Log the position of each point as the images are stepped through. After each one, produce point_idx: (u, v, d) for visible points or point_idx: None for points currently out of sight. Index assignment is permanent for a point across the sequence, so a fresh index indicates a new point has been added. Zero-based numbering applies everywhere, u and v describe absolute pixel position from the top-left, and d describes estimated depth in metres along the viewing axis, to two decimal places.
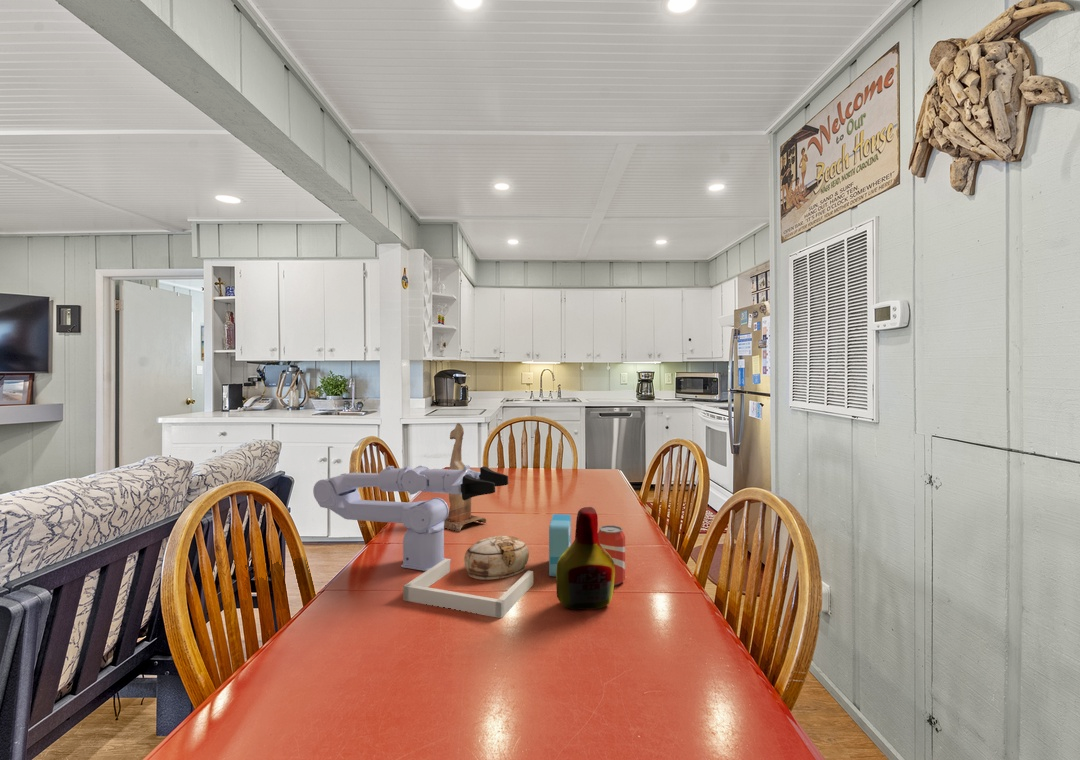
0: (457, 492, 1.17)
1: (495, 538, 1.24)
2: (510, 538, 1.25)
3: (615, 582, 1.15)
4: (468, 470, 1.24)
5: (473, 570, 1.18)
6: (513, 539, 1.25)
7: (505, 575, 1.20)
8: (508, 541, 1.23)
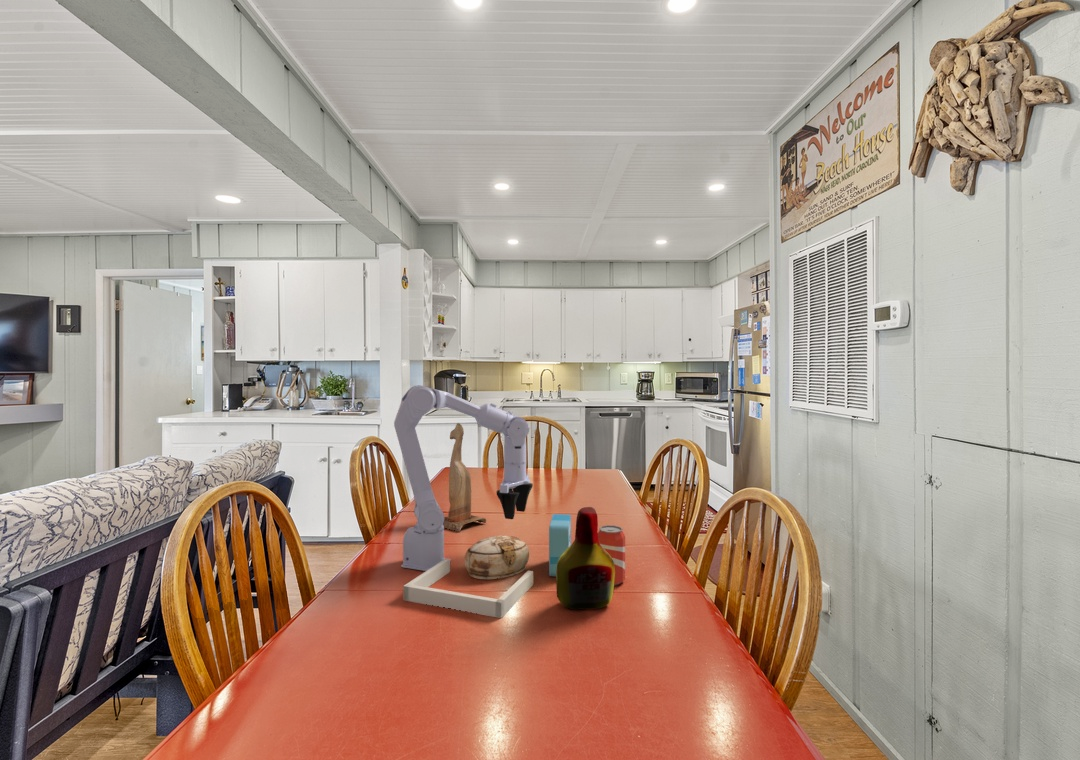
0: (501, 491, 1.28)
1: (495, 538, 1.24)
2: (510, 538, 1.25)
3: (615, 582, 1.15)
4: None
5: (474, 570, 1.19)
6: (514, 539, 1.25)
7: (505, 575, 1.20)
8: (508, 541, 1.23)
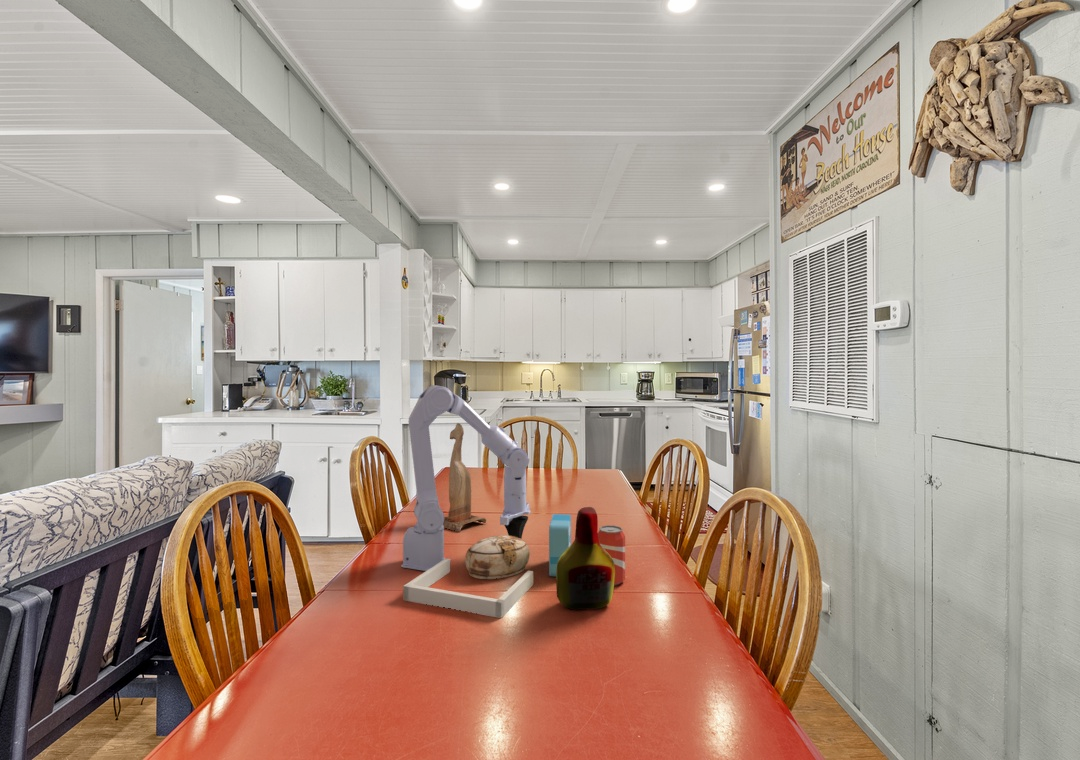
0: (501, 523, 1.28)
1: (496, 538, 1.24)
2: (511, 538, 1.25)
3: (615, 582, 1.15)
4: None
5: (474, 569, 1.19)
6: (514, 539, 1.25)
7: (506, 574, 1.20)
8: (509, 541, 1.23)
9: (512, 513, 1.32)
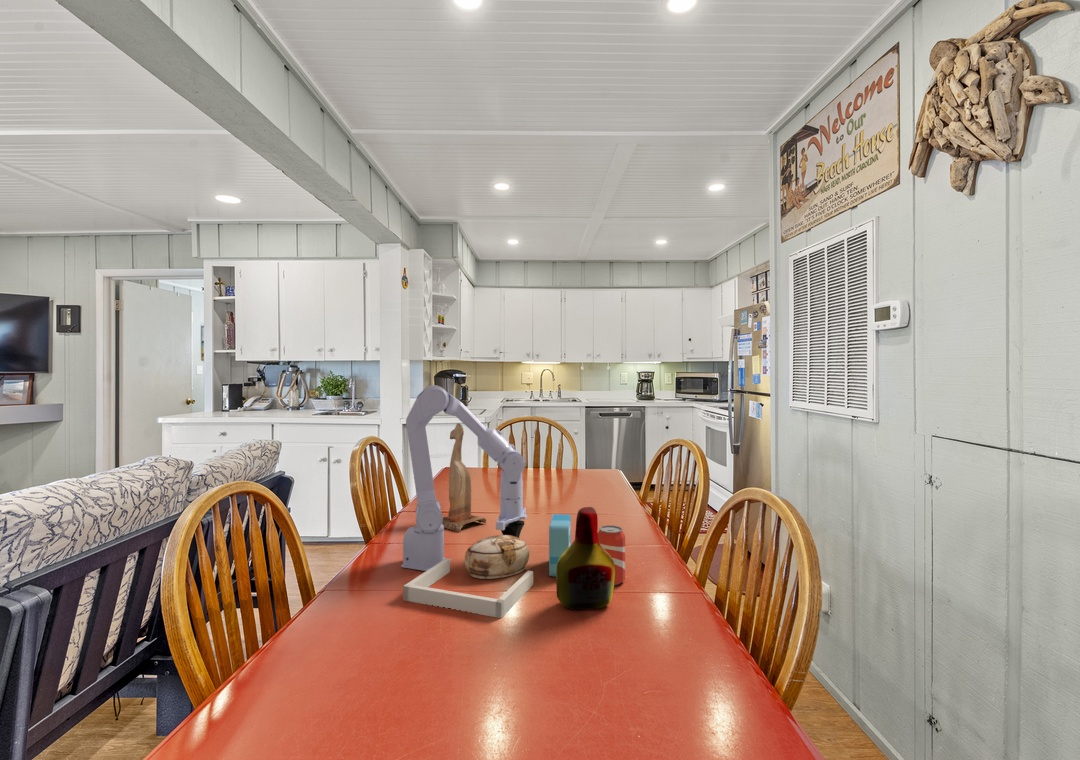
0: (497, 528, 1.26)
1: (496, 537, 1.24)
2: (511, 537, 1.25)
3: (615, 582, 1.15)
4: None
5: (474, 569, 1.19)
6: (514, 539, 1.25)
7: (505, 574, 1.20)
8: (509, 540, 1.23)
9: (508, 518, 1.29)
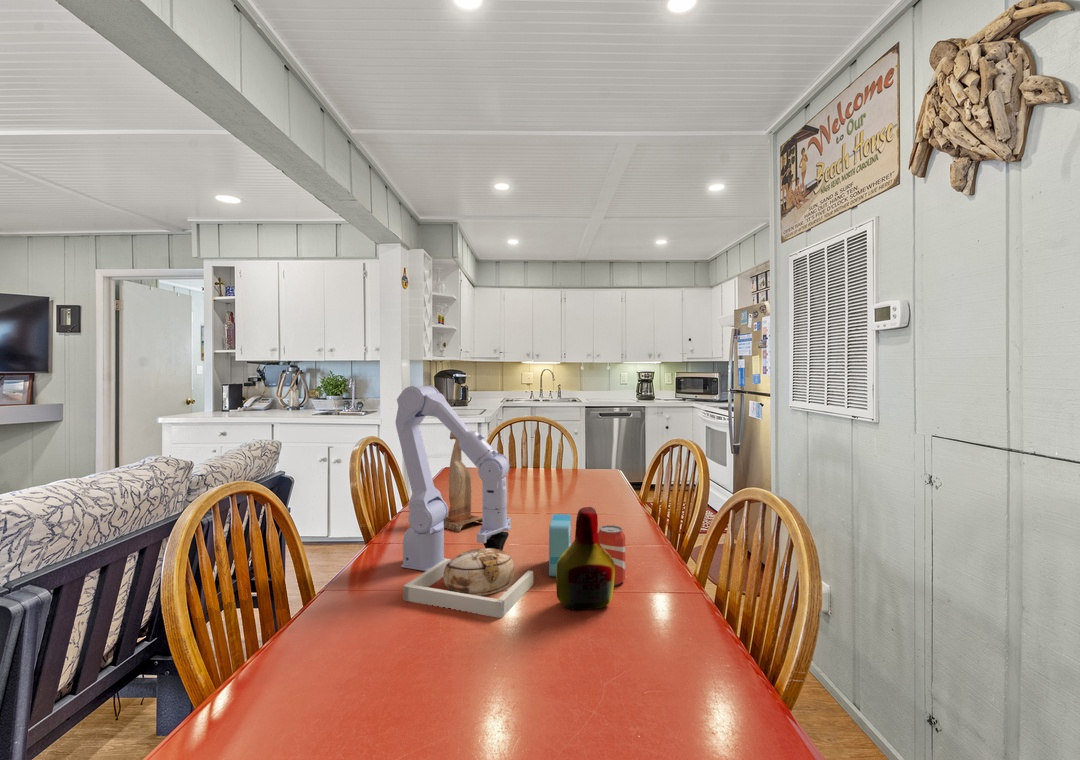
0: (478, 541, 1.16)
1: (477, 551, 1.15)
2: (494, 551, 1.16)
3: (615, 582, 1.15)
4: None
5: (453, 586, 1.09)
6: (497, 552, 1.16)
7: (487, 592, 1.11)
8: (491, 555, 1.14)
9: (491, 529, 1.20)
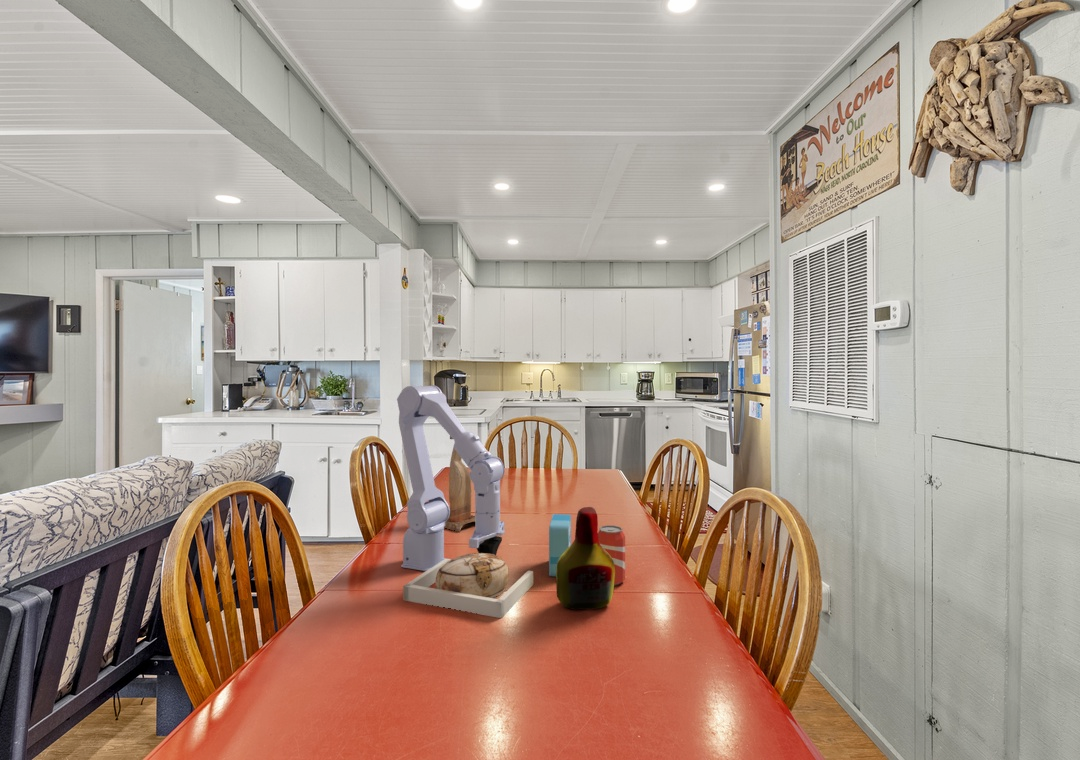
0: (470, 546, 1.13)
1: (471, 556, 1.12)
2: (488, 556, 1.13)
3: (615, 582, 1.15)
4: None
5: None
6: (491, 558, 1.12)
7: None
8: (485, 560, 1.10)
9: (483, 534, 1.17)
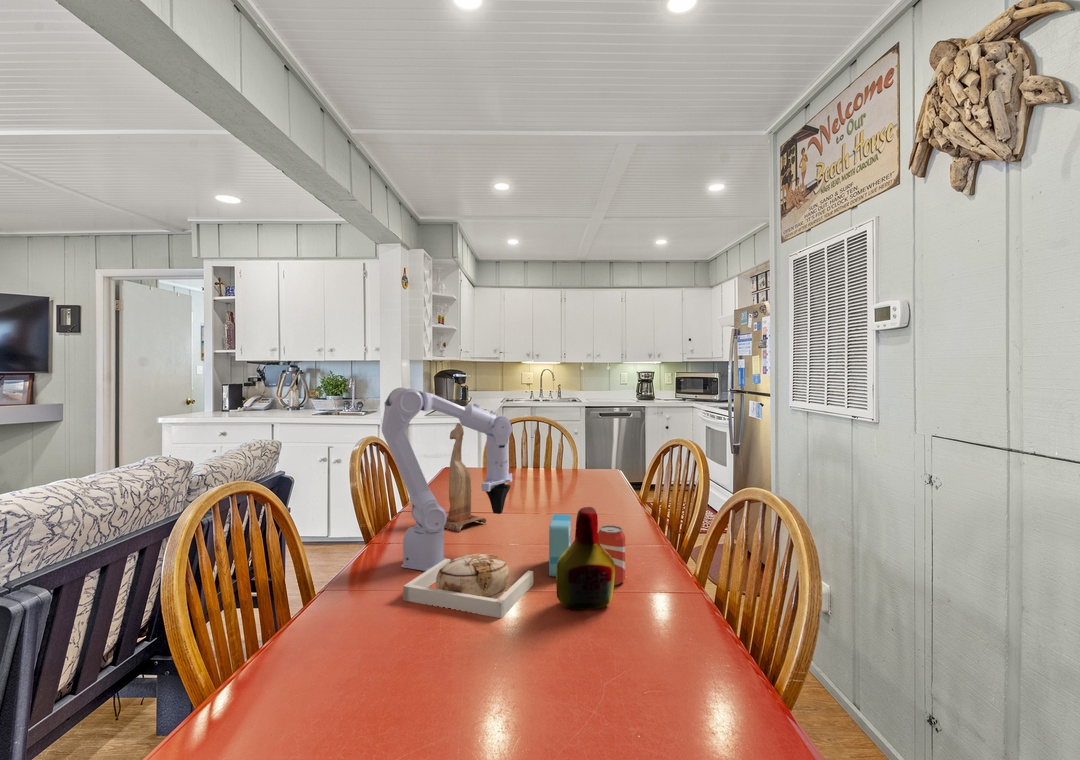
0: (483, 489, 1.30)
1: (471, 557, 1.12)
2: (488, 557, 1.13)
3: (615, 582, 1.15)
4: None
5: None
6: (492, 558, 1.12)
7: None
8: (485, 561, 1.11)
9: (494, 481, 1.33)
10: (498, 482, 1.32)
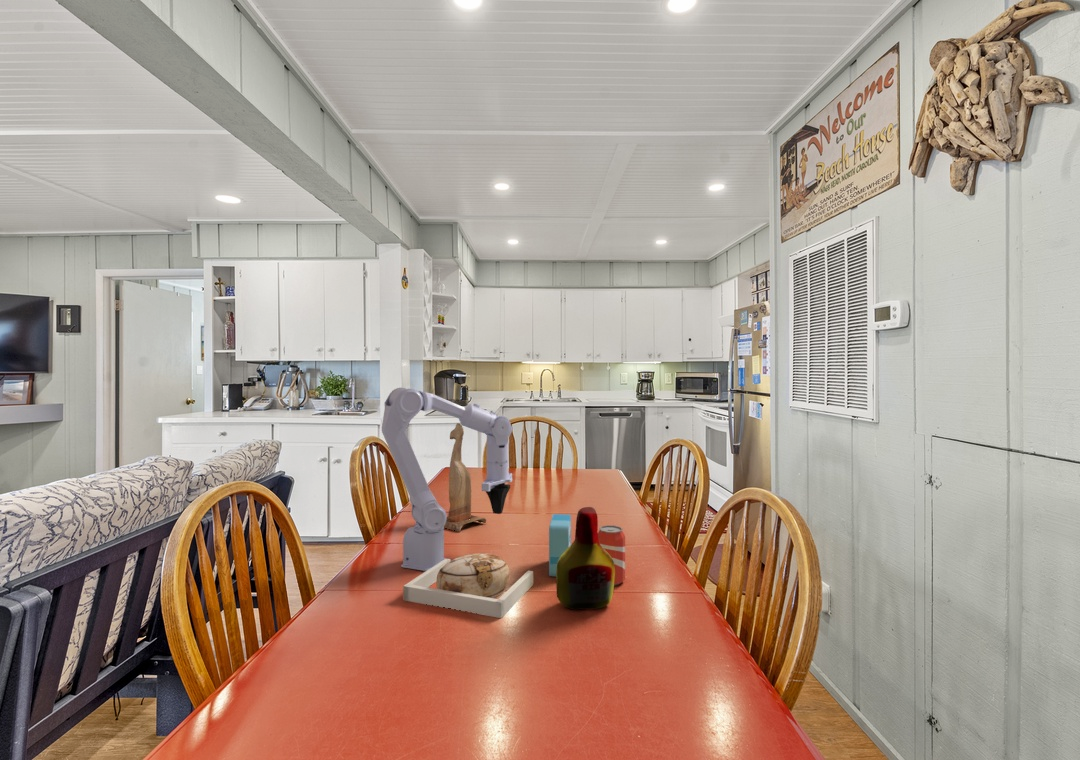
0: (483, 489, 1.30)
1: (471, 556, 1.12)
2: (488, 557, 1.13)
3: (615, 582, 1.15)
4: None
5: None
6: (492, 558, 1.12)
7: None
8: (485, 560, 1.11)
9: (494, 481, 1.33)
10: (498, 482, 1.32)
